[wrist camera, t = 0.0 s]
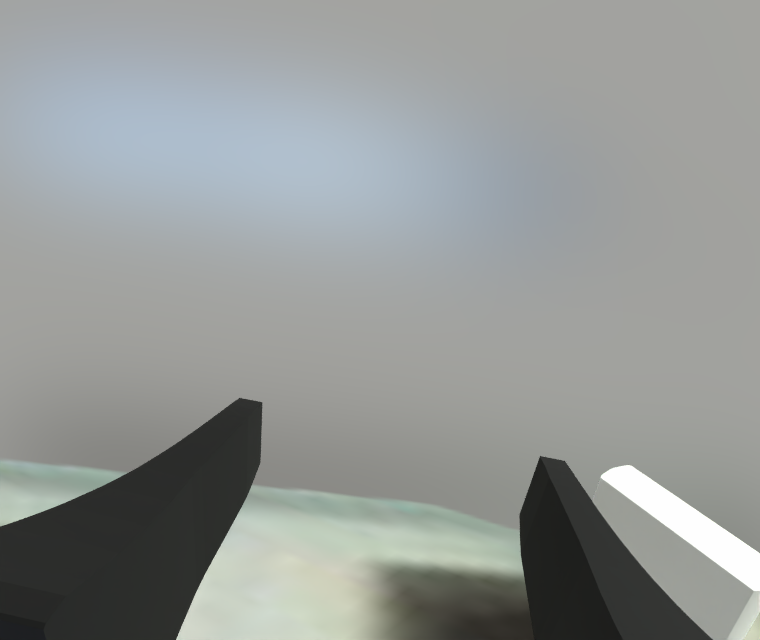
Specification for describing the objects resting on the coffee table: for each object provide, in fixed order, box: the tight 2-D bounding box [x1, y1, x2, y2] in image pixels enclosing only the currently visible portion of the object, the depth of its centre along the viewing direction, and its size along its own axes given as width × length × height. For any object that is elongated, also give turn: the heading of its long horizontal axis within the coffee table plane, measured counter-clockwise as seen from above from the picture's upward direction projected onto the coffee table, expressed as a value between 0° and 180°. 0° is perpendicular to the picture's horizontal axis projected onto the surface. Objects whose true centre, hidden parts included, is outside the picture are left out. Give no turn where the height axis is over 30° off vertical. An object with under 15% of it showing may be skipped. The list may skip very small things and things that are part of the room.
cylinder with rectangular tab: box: [592, 465, 760, 640], centre depth 30 cm, size 9×9×12 cm
